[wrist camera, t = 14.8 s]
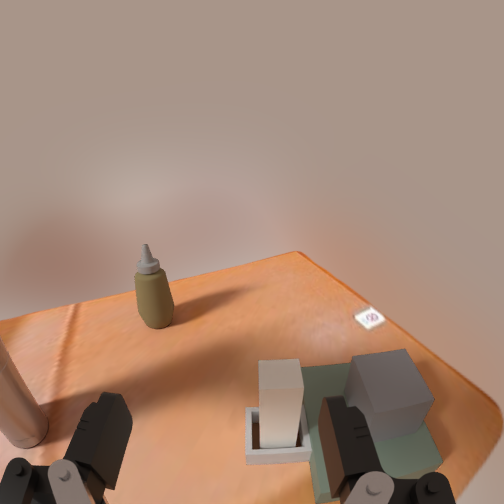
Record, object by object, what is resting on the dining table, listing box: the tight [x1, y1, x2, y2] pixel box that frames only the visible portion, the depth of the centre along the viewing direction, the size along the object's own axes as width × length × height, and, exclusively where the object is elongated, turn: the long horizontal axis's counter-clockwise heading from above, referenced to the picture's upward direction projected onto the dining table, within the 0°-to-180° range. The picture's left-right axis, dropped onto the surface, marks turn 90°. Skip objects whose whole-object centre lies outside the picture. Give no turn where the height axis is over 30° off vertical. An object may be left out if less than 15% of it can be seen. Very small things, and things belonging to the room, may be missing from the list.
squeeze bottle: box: [135, 244, 174, 329], centre depth 60 cm, size 8×8×18 cm
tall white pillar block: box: [258, 359, 304, 449], centre depth 33 cm, size 5×5×14 cm
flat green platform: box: [245, 349, 443, 504], centre depth 34 cm, size 24×22×11 cm
